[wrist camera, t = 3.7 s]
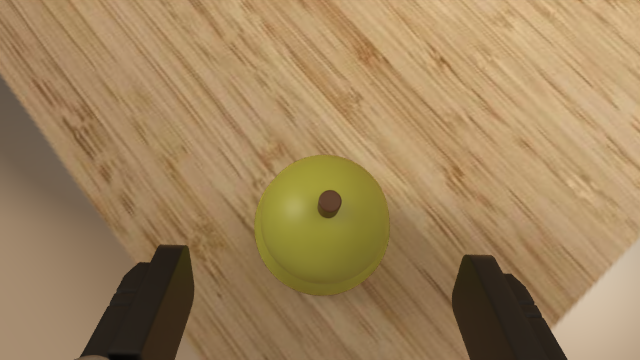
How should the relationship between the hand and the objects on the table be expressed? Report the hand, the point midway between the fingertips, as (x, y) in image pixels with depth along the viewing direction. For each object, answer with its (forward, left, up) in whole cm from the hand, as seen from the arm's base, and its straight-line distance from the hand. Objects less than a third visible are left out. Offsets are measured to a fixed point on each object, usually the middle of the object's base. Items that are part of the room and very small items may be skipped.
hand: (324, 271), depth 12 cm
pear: (-1, +1, -8) cm, 8 cm away
